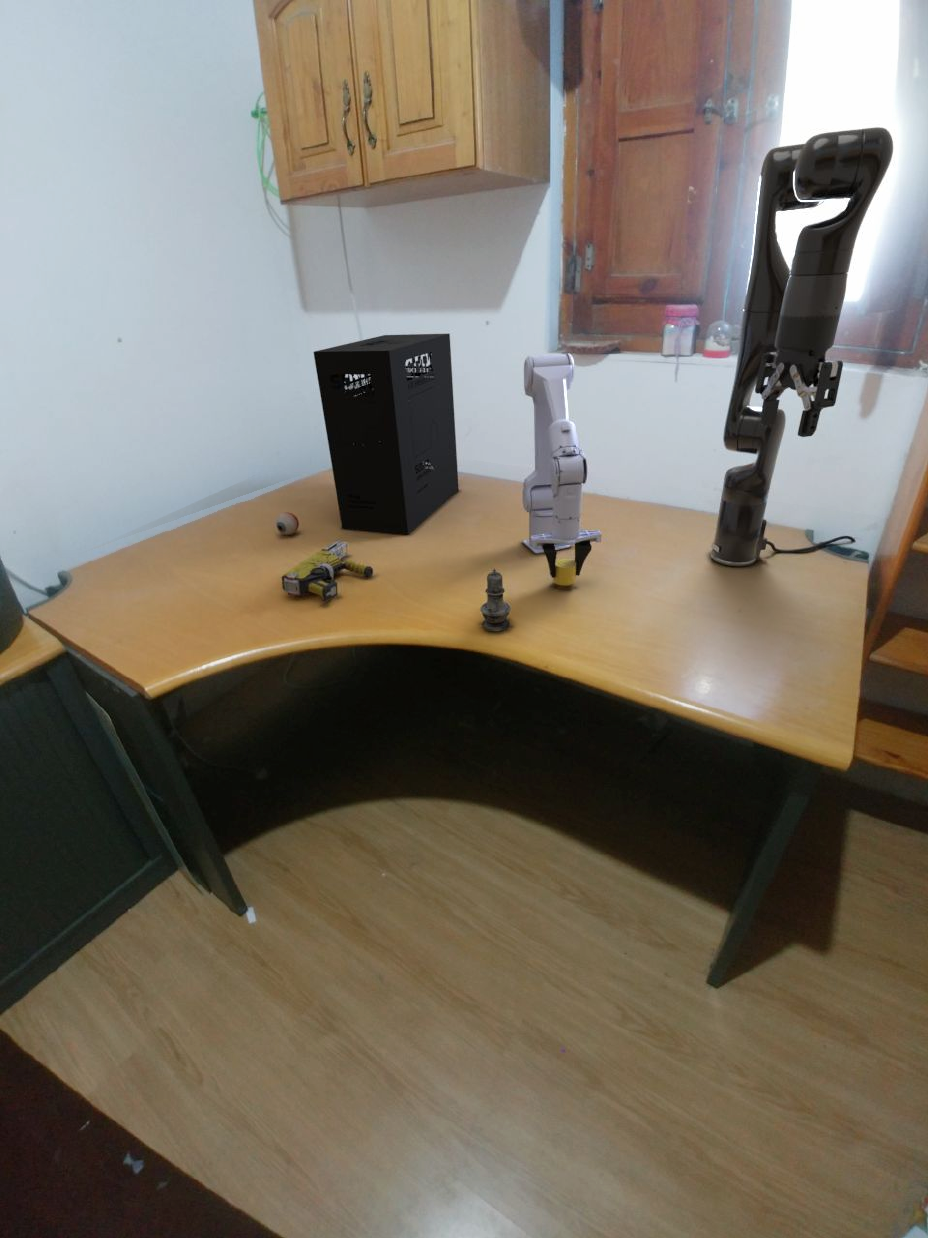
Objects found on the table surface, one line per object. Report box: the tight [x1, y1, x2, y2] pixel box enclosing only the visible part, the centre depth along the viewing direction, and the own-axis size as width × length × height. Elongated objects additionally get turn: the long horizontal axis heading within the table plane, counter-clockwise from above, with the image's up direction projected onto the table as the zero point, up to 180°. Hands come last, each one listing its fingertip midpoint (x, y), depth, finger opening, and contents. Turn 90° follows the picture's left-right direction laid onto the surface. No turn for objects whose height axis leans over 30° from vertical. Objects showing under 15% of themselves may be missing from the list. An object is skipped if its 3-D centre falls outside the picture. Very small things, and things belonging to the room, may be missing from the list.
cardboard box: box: [313, 333, 460, 535], centre depth 167 cm, size 38×20×45 cm, turn 159°
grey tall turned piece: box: [479, 568, 512, 632], centre depth 114 cm, size 6×6×12 cm
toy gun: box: [281, 539, 374, 603], centre depth 138 cm, size 5×24×15 cm
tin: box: [553, 558, 577, 586], centre depth 129 cm, size 5×5×4 cm
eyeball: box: [275, 511, 300, 536], centre depth 163 cm, size 6×6×6 cm
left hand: (564, 574), depth 130 cm, fingers closed on tin, 5 cm apart
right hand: (785, 429), depth 92 cm, fingers open, 8 cm apart
